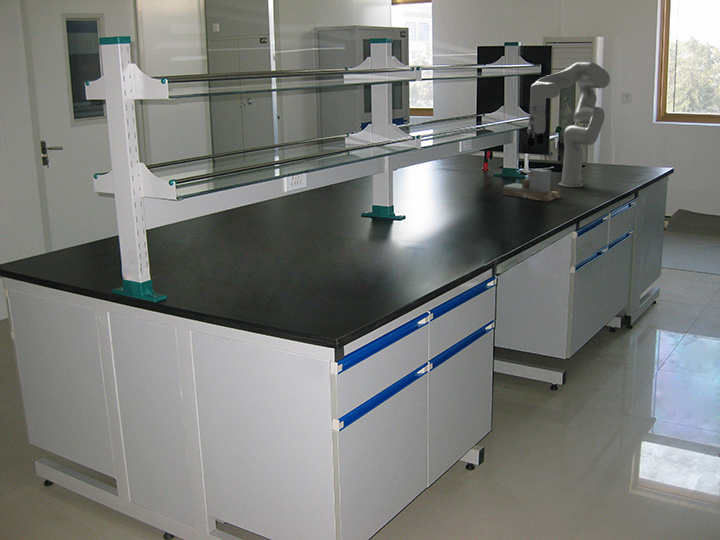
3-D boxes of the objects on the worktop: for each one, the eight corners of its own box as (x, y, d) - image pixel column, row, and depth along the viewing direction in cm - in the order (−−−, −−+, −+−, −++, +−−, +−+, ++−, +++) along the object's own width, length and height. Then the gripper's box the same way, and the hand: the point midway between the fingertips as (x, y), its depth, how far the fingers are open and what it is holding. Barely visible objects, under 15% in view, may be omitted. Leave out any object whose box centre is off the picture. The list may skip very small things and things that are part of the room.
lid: (513, 185, 384) (514, 175, 382) (535, 188, 376) (535, 178, 375) (503, 187, 377) (504, 177, 375) (524, 190, 369) (525, 180, 368)
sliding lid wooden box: (517, 190, 386) (517, 183, 384) (560, 197, 370) (561, 189, 369) (502, 194, 376) (503, 186, 374) (546, 201, 360) (547, 193, 359)
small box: (549, 196, 370) (551, 170, 366) (541, 198, 366) (544, 171, 362) (536, 194, 376) (537, 168, 372) (528, 195, 372) (530, 169, 368)
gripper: (536, 111, 359) (534, 147, 365) (552, 108, 372) (550, 143, 377) (522, 110, 364) (520, 146, 369) (538, 107, 377) (536, 142, 382)
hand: (535, 144), depth 373 cm, fingers open, 9 cm apart
